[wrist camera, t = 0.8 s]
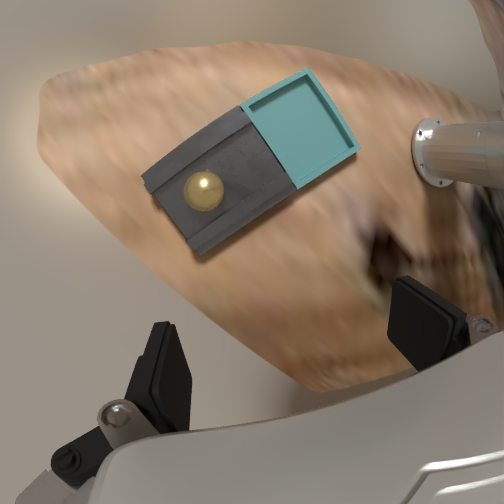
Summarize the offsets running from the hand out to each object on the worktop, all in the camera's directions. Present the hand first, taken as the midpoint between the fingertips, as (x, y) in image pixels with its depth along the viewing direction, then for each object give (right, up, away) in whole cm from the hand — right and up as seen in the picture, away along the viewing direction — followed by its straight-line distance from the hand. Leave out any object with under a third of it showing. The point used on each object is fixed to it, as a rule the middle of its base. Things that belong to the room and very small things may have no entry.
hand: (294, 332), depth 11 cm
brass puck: (-8, +11, +25) cm, 28 cm away
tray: (+5, +21, +25) cm, 33 cm away
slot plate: (-6, +13, +26) cm, 30 cm away
